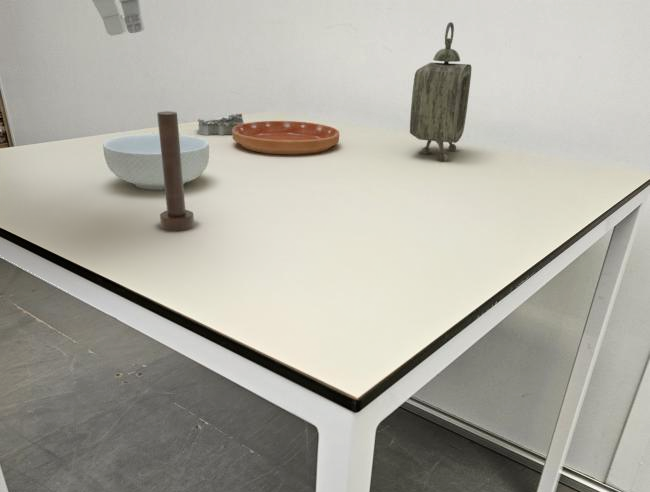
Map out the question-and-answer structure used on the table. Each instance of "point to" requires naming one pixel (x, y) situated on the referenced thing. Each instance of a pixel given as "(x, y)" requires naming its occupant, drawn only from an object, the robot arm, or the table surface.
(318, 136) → the saucer
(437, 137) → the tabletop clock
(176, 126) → the stirring stick
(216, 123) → the egg carton
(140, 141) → the cereal bowl
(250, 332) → the table surface
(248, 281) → the table surface
